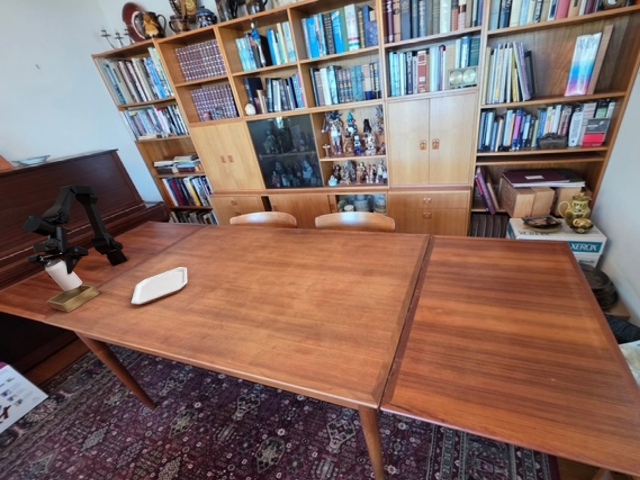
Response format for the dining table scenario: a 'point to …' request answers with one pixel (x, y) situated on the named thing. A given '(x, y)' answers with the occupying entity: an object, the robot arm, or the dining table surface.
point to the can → (62, 275)
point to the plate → (160, 286)
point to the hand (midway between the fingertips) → (60, 275)
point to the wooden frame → (73, 298)
